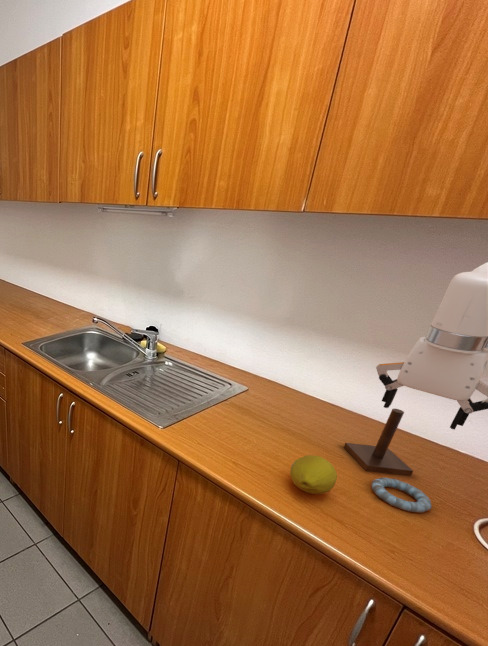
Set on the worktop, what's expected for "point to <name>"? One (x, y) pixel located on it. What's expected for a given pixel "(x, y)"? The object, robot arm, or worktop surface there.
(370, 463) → the peg stand
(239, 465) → the worktop surface
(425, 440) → the worktop surface
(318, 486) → the lemon
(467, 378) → the robot arm
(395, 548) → the worktop surface
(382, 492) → the ring
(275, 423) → the worktop surface
